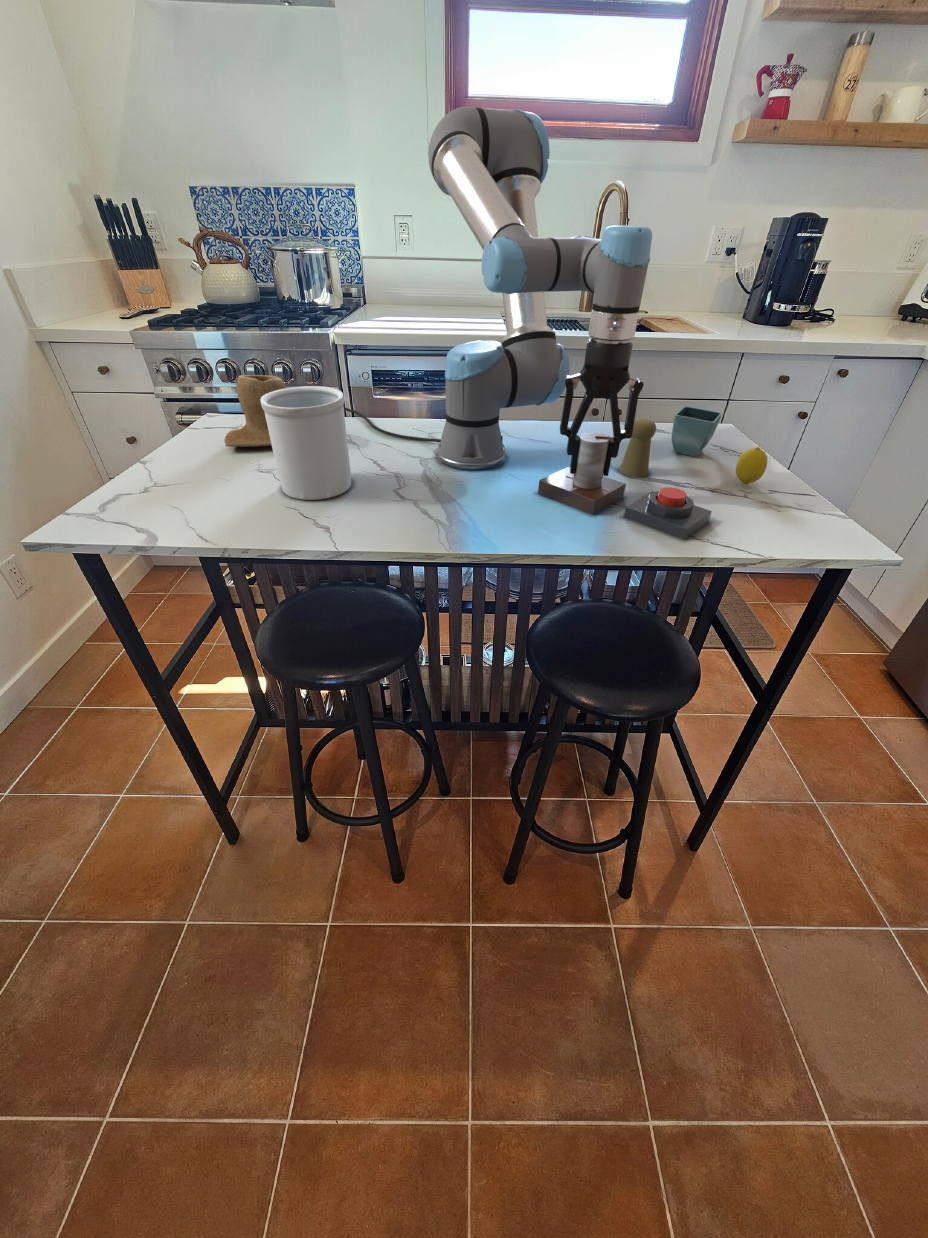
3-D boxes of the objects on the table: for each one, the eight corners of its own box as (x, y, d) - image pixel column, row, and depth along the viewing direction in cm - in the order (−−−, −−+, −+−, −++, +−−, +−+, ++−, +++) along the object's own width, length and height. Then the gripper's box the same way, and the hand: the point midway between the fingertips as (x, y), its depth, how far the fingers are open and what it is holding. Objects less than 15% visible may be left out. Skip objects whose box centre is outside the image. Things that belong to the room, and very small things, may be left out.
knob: (572, 487, 105) (580, 439, 99) (571, 476, 109) (578, 429, 104) (602, 489, 104) (611, 441, 99) (600, 478, 109) (608, 431, 103)
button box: (623, 517, 102) (627, 497, 100) (650, 501, 108) (654, 482, 105) (683, 540, 96) (689, 519, 93) (708, 521, 101) (714, 501, 99)
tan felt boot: (298, 433, 135) (287, 367, 126) (295, 450, 126) (283, 381, 117) (234, 435, 133) (218, 369, 124) (226, 453, 123) (208, 383, 114)
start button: (652, 501, 99) (654, 492, 98) (664, 493, 102) (667, 484, 101) (676, 510, 97) (679, 500, 96) (689, 501, 100) (691, 492, 99)
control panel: (537, 494, 110) (539, 479, 108) (569, 478, 116) (571, 464, 114) (592, 515, 103) (595, 499, 101) (623, 497, 109) (626, 482, 107)
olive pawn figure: (648, 478, 117) (661, 426, 110) (619, 475, 118) (630, 423, 111) (646, 467, 122) (658, 417, 115) (619, 464, 122) (629, 414, 116)
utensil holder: (263, 485, 110) (244, 395, 100) (325, 465, 119) (313, 380, 108) (306, 509, 102) (289, 413, 92) (368, 485, 111) (360, 396, 100)
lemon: (759, 482, 116) (772, 445, 111) (758, 492, 112) (772, 454, 107) (731, 477, 118) (743, 440, 113) (729, 486, 114) (742, 449, 109)
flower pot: (711, 450, 131) (723, 412, 125) (702, 461, 125) (714, 422, 119) (674, 442, 134) (684, 405, 129) (664, 453, 128) (674, 414, 123)
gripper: (554, 341, 89) (540, 476, 103) (671, 346, 88) (640, 483, 102) (554, 332, 95) (540, 461, 109) (663, 337, 94) (635, 467, 108)
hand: (588, 471), depth 105 cm, fingers closed on knob, 6 cm apart
